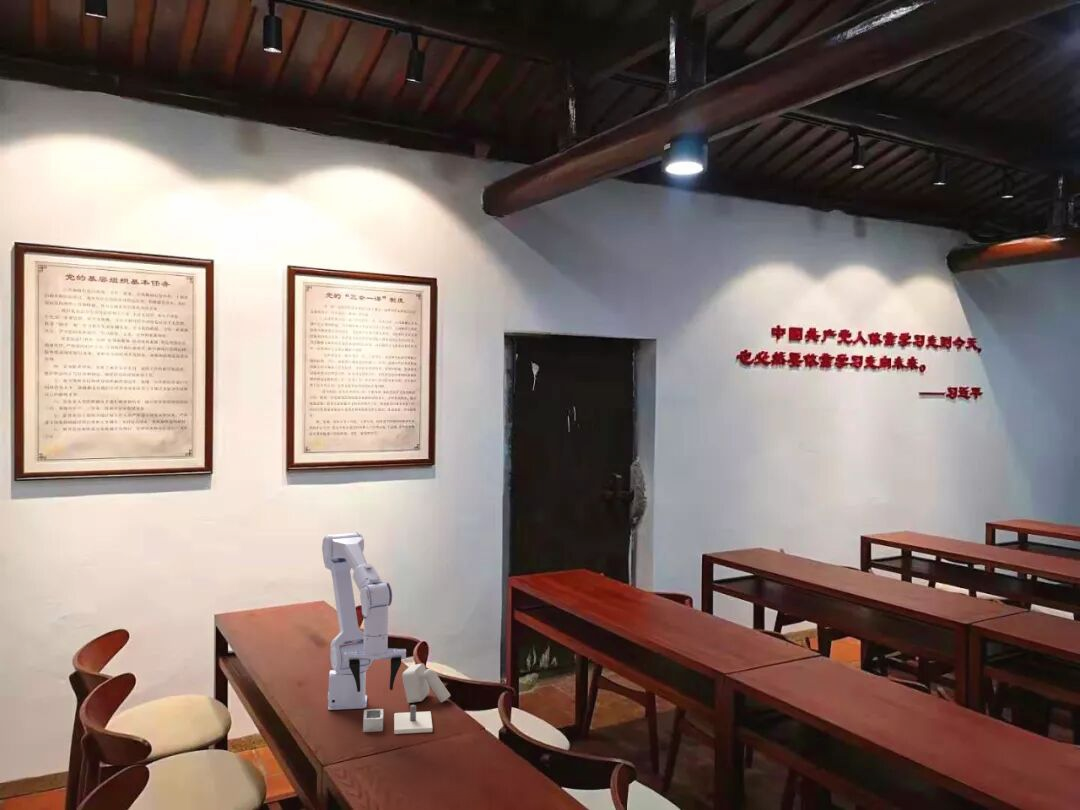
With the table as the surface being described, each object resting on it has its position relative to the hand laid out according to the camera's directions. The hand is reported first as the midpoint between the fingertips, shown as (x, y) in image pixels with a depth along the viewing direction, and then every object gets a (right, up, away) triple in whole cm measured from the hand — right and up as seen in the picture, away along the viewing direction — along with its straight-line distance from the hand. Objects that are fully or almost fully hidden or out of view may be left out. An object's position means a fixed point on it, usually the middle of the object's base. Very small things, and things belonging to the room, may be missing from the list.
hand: (375, 689), depth 196 cm
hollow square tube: (0, -9, 0) cm, 9 cm away
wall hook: (+11, -9, +17) cm, 22 cm away
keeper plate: (+9, -9, +2) cm, 13 cm away
